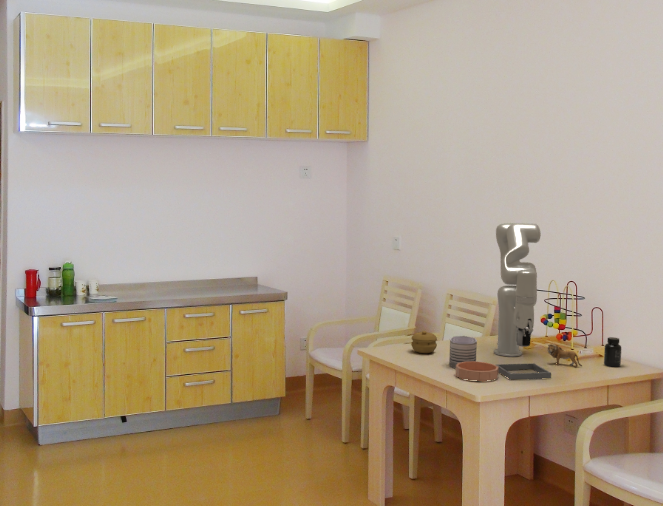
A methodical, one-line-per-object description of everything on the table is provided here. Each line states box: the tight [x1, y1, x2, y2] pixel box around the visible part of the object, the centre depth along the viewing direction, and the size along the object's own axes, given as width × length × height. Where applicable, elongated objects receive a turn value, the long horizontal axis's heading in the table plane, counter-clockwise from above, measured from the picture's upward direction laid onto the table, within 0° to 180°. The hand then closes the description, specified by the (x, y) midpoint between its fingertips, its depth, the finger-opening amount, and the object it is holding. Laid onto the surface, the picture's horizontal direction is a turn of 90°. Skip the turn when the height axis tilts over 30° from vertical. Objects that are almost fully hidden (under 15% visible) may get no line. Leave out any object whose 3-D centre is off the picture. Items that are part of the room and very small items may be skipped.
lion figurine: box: [547, 343, 583, 369], centre depth 324 cm, size 15×5×9 cm, turn 68°
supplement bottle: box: [603, 336, 622, 368], centre depth 324 cm, size 7×7×12 cm
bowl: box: [455, 360, 500, 381], centre depth 303 cm, size 17×17×4 cm
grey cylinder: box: [517, 329, 528, 348], centre depth 306 cm, size 5×5×6 cm
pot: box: [410, 330, 438, 354], centre depth 344 cm, size 12×12×10 cm
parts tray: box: [494, 362, 552, 380], centre depth 307 cm, size 16×18×2 cm
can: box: [448, 335, 478, 369], centre depth 319 cm, size 11×11×12 cm
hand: (523, 343), depth 307 cm, fingers closed on grey cylinder, 5 cm apart
